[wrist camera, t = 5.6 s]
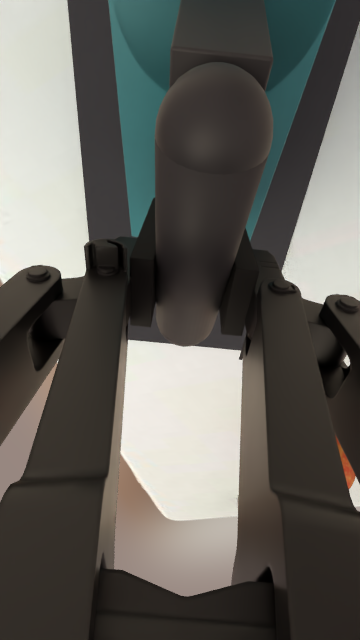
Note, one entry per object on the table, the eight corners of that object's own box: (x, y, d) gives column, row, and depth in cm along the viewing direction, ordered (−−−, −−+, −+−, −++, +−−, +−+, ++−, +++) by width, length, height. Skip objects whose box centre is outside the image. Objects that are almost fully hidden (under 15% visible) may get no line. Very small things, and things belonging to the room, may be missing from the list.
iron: (249, 194, 23) (259, 374, 16) (138, 183, 22) (99, 359, 16) (384, -256, 9) (845, -348, 2) (109, -290, 9) (-256, -495, 2)
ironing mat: (46, -274, 13) (41, -286, 12) (432, -226, 13) (440, -236, 13) (99, 333, 32) (97, 336, 31) (255, 348, 32) (256, 352, 32)
